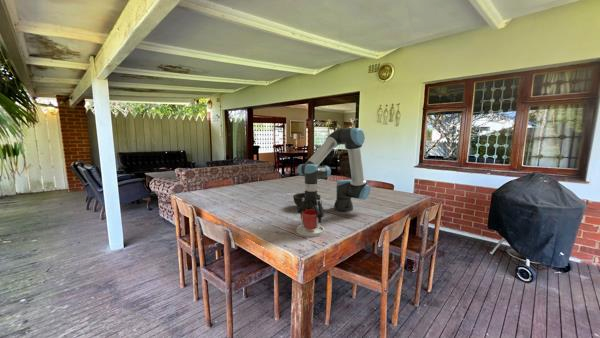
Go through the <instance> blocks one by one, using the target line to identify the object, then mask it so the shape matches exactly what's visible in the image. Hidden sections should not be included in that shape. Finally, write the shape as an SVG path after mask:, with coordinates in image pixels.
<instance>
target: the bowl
mask: <svg viewBox="0 0 600 338" xmlns="http://www.w3.org/2000/svg"><path fill="white" fill-rule="evenodd" d="M302 197H304V198H305V192H300V193H295V194H293V198H292V199H293V202H294V204H295V205H296V206H297V207H298V208H299V205H300V198H302ZM321 197H322V196H321V194H318V193H317V200H321ZM305 203H306V202H305V201H304V204H303V207H304V205H305ZM316 204H317V202H316ZM314 206H315V205H314ZM317 206H318V204H317ZM310 209H314V208H313V207H312V206H310V205H308V207H307V208H306V210H310Z"/></svg>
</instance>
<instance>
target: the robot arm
mask: <svg viewBox="0 0 600 338" xmlns="http://www.w3.org/2000/svg"><path fill="white" fill-rule="evenodd" d="M365 141H366V140H365V133H364V130H362V128H360V127H345V128H344V127H340V128H338V129H337V128H336V129H335V130H334V131H333V132H331V133H330V134H328V135H327V137H326V138H325V140H324V142H323V143H322V144H321V145H320V147H318V149H317V150H316V151H315V152H314V153H313V154H312V155H311V156H310V157H309V159H308V160H307V161H306V162H305V163H302V164H299V165H298V166H297V174H299V175H300V176H303V177H304V193H305V198H304V197H302V198H300V205H299V207H298V209H297V214H300V220H301V225H304V223H303V217H302V211H303V212H304V211H305V210H307V209H306V208H307V207H308V205H310V206H312V207H313V208H312V209H313V210H315V212H316V214H317V216H318V218H317V229H318V228H320V225H321V223H322V218H324V217H325V212H324V209H323V204H322V202H323V201H322V200H321V199H320V200H317V194H318V180H322V179H326V178H329V177H330V176H331V173H332V169H331V167H330V166H328V165H320V164H321V163H322V162H323V161H324V160H325V158H326V157H327V156H328V155H329V154H330V153H331V152H332V150H333V149H335V148H337V147H338V146H340V145H344V147H345V149H346V150H347V154H348V161H349V162H348V163H349V167H350V174H351V175H350V176H351V179H340V180H337V181H336V196H335V197H336V199H335V202H334V205H333V209H334V210H335V211H338V212H351V211H354V205H353V201H352V199H357V200H367V199H368V197H369V196H370V194H371V186H370V184H367V179H365V176H364V168H363V161H362V153H361V151H362V150H361V149H362V147H363V145H364V143H365ZM304 201H305V202H306V203H305V205H304V207H303V204H304ZM316 202H317V204H318V205H317V204H316ZM314 205H315V206H314Z"/></svg>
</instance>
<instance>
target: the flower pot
mask: <svg viewBox="0 0 600 338" xmlns="http://www.w3.org/2000/svg"><path fill="white" fill-rule="evenodd" d="M302 217H303V223H304V227H305V228H306V229H310V230H312V229H316V228H317V218H318V216H317V214H316V212H315V210H314V209H313V208H311V209H306V210H305V211H304V212H303V211H302Z"/></svg>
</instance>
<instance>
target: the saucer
mask: <svg viewBox="0 0 600 338" xmlns="http://www.w3.org/2000/svg"><path fill="white" fill-rule="evenodd" d="M296 233H297V234H298V235H300V236H303V237H312V238H313V237H315V238H316V237H320V236H323V234H325V227H324V226H322V225H321V224H320V228H318V229H317V228H316V229H312V230H310V229H306V228H305V227H304V225H302V224H299V225H297V226H296Z"/></svg>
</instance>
